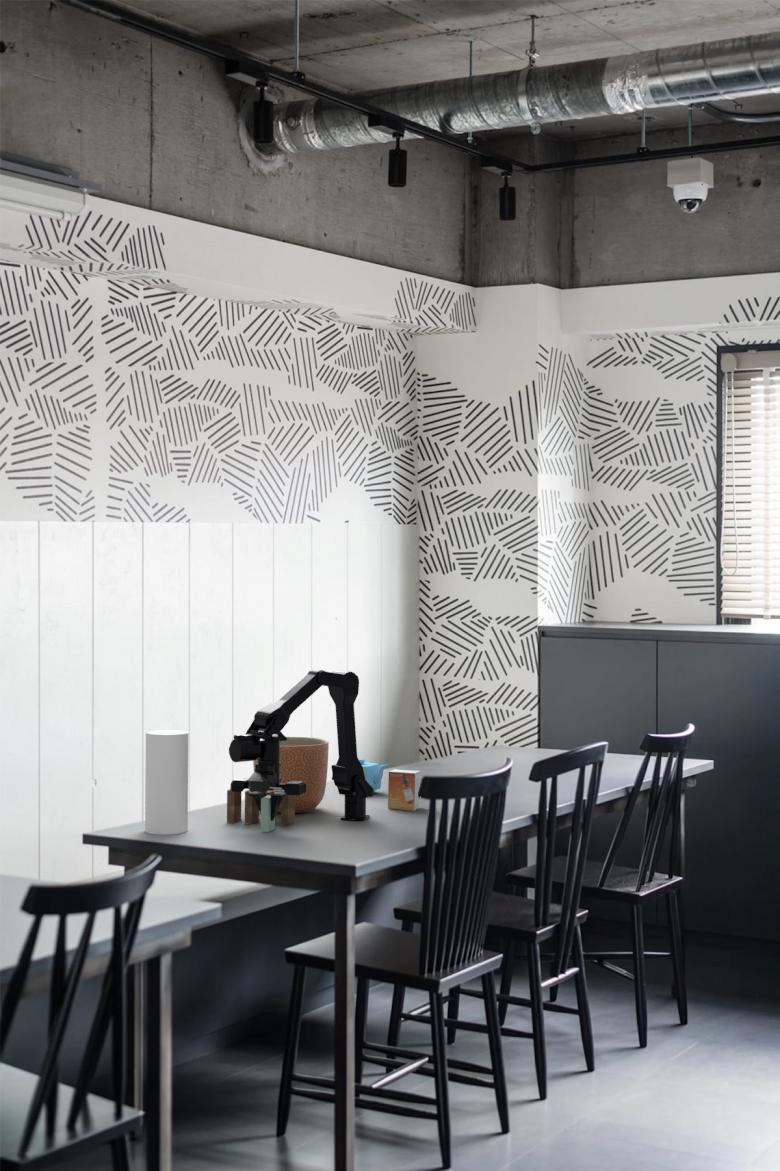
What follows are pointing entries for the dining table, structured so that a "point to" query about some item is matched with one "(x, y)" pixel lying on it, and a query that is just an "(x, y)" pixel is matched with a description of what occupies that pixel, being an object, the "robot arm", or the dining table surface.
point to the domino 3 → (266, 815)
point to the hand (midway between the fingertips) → (268, 820)
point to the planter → (304, 769)
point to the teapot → (373, 773)
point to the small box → (403, 789)
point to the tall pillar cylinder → (166, 782)
